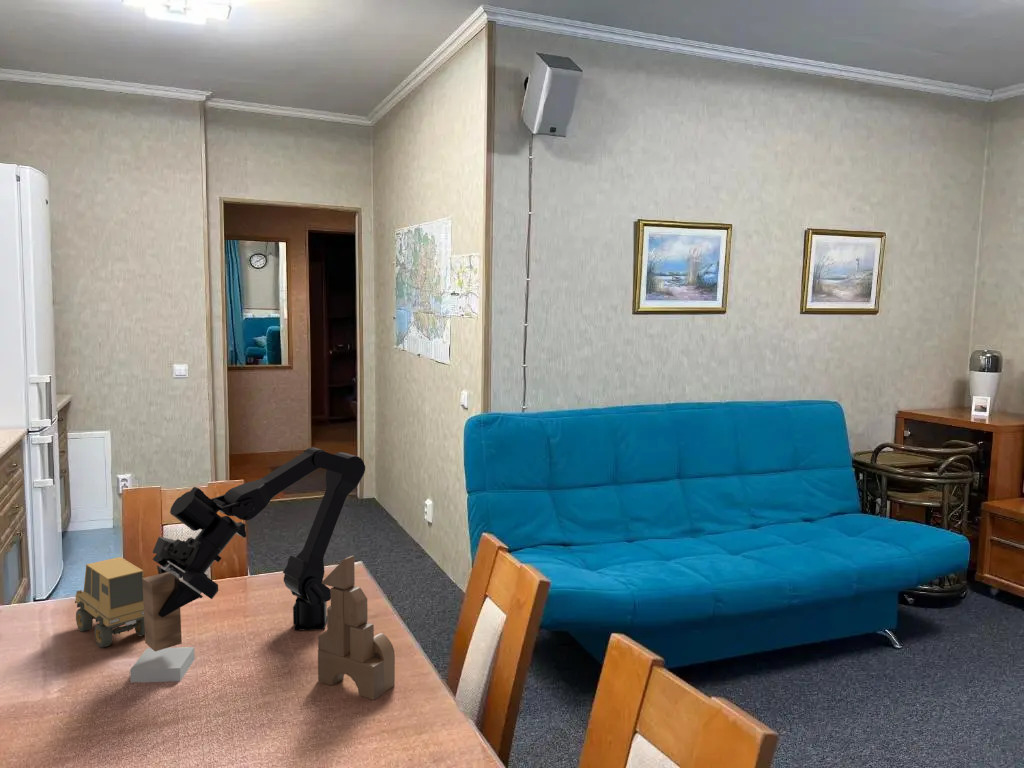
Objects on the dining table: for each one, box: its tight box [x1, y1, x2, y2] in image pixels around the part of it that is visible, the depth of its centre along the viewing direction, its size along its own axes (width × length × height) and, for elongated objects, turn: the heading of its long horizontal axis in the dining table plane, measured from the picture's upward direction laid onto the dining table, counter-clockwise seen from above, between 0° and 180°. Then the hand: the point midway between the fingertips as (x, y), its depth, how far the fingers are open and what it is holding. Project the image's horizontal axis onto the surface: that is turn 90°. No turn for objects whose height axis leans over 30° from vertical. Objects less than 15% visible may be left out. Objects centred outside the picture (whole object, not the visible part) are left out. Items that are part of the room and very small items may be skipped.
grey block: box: [129, 646, 196, 684], centre depth 152 cm, size 9×9×3 cm
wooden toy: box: [317, 555, 396, 701], centre depth 147 cm, size 15×7×25 cm, turn 60°
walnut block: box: [142, 572, 182, 651], centre depth 151 cm, size 5×5×13 cm
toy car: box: [74, 556, 145, 648], centre depth 168 cm, size 10×19×15 cm, turn 47°
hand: (154, 611), depth 150 cm, fingers closed on walnut block, 5 cm apart
